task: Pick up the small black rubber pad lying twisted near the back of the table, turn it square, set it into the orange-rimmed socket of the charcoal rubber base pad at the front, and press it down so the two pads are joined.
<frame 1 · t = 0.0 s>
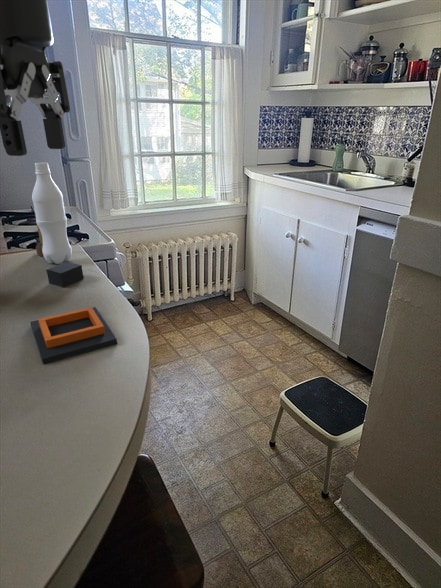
hand: (38, 151, 49), 32 cm above the table, tool pointing down, fingers open, 8 cm apart
water bottle: (59, 261, 105), on the table
mortar and pestle: (50, 253, 110), on the table
base pad: (72, 334, 70), on the table
pad: (66, 280, 92), on the table
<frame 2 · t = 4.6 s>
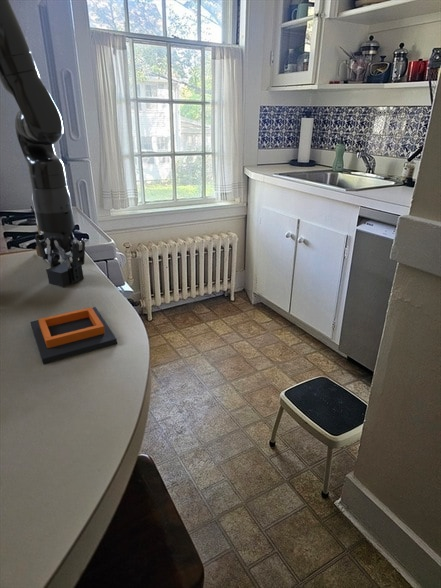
hand: (66, 279, 92), 0 cm above the table, tool pointing down, fingers closed on pad, 5 cm apart
pad: (66, 280, 92), on the table, touching gripper
everything else where it was.
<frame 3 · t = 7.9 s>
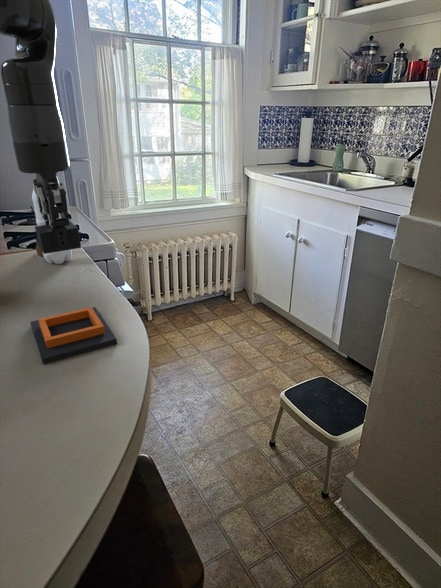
hand: (59, 244, 67), 16 cm above the table, tool pointing down, fingers closed on pad, 5 cm apart
pad: (59, 247, 67), point 15 cm above the table, touching gripper
everything else where it was.
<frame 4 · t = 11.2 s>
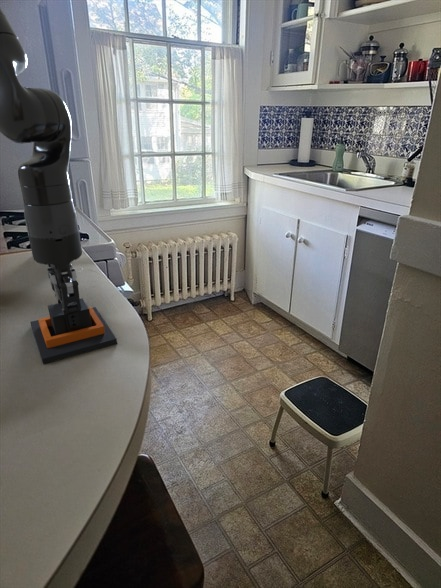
hand: (70, 322, 69), 2 cm above the table, tool pointing down, fingers closed on pad, 5 cm apart
pad: (71, 324, 69), point 2 cm above the table, touching gripper
everything else where it was.
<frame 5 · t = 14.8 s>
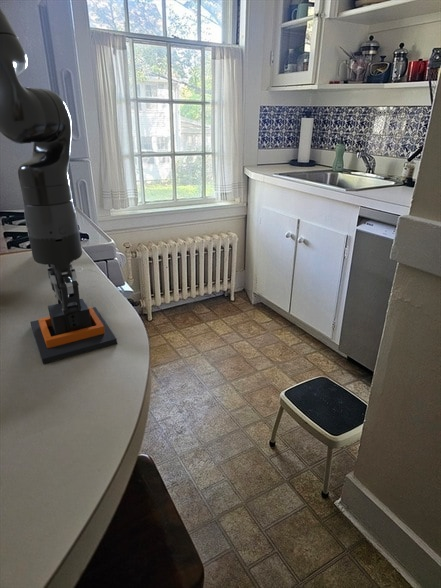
hand: (70, 322, 69), 2 cm above the table, tool pointing down, fingers closed on pad, 5 cm apart
pad: (71, 324, 69), point 2 cm above the table, touching gripper
everything else where it was.
when the fingers open (3 cm above the table, at t = 17.8 s): pad drops 2 cm, resting on base pad.
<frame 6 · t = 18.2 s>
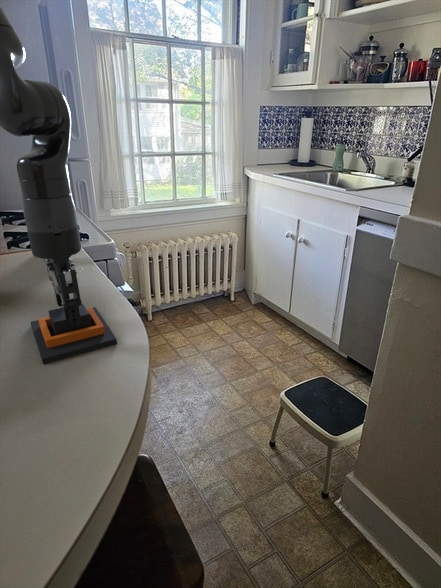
hand: (69, 314, 69), 4 cm above the table, tool pointing down, fingers open, 8 cm apart
pad: (71, 329, 70), point 1 cm above the table, touching base pad
everything else where it was.
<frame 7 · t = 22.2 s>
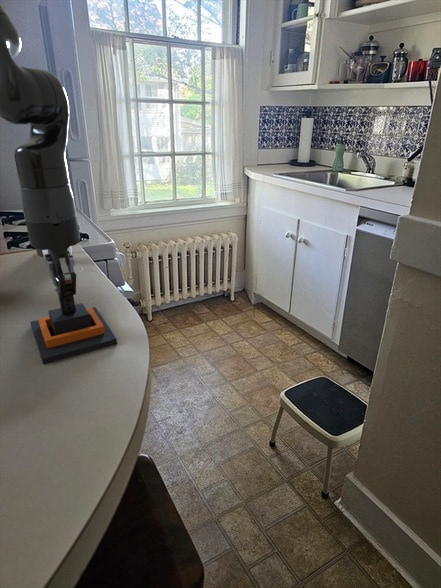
hand: (69, 312, 68), 4 cm above the table, tool pointing down, fingers closed
pad: (71, 329, 70), point 1 cm above the table, touching base pad, gripper
everything else where it was.
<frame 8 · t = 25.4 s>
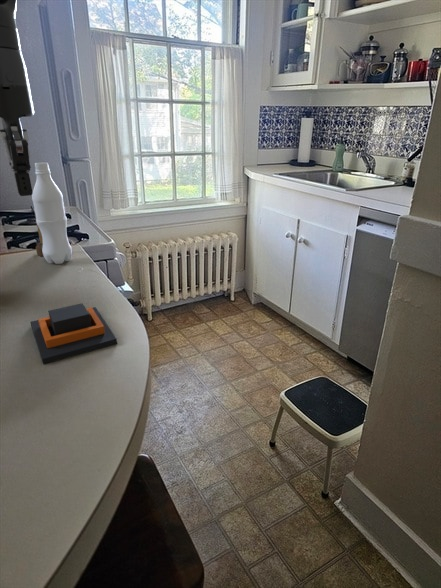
hand: (25, 194, 69), 23 cm above the table, tool pointing down, fingers closed
pad: (71, 329, 70), point 1 cm above the table, touching base pad
everything else where it was.
at the end: pad 0.1 cm off-centre on the base pad, point 1.0 cm above the base pad's base; pad tilted 0°; the gripper is holding nothing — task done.
